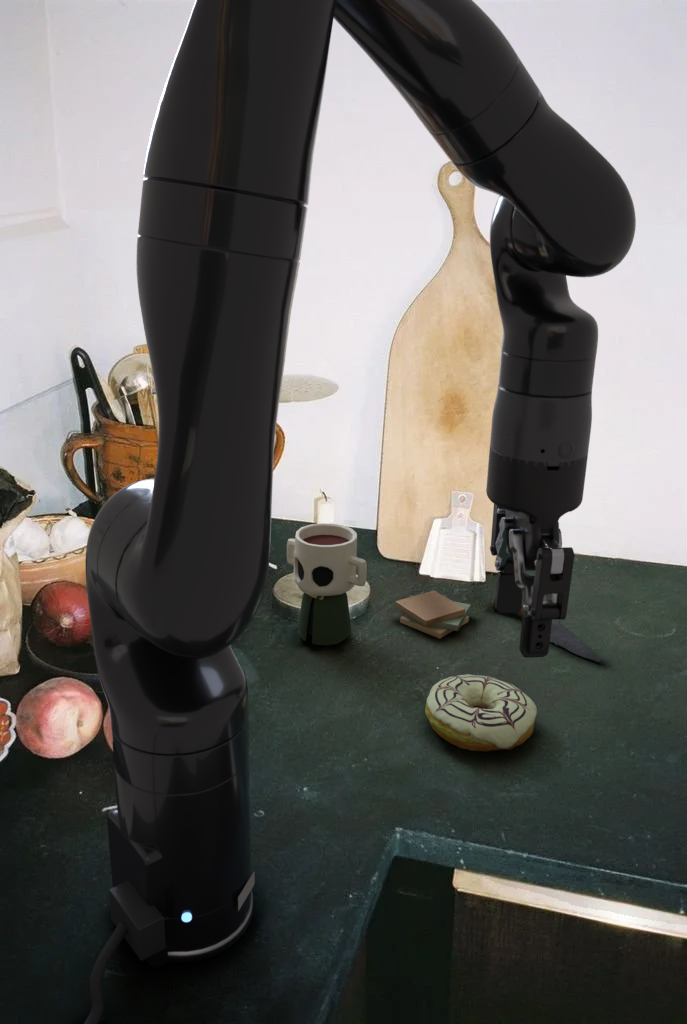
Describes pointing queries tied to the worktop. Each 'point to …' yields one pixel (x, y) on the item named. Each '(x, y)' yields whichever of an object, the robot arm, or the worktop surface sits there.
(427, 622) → the coaster stack
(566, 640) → the knife
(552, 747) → the worktop surface
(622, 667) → the worktop surface
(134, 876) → the robot arm
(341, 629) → the character mug
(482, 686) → the decorated donut
